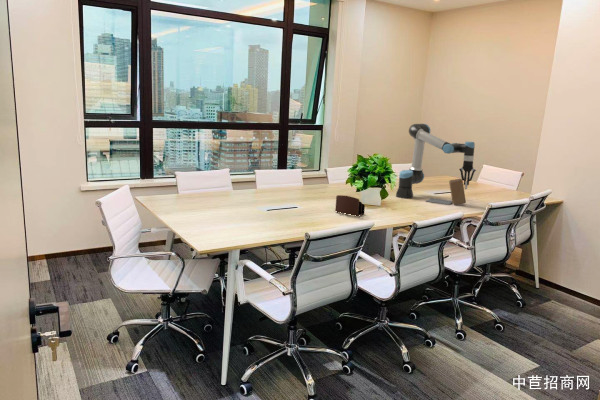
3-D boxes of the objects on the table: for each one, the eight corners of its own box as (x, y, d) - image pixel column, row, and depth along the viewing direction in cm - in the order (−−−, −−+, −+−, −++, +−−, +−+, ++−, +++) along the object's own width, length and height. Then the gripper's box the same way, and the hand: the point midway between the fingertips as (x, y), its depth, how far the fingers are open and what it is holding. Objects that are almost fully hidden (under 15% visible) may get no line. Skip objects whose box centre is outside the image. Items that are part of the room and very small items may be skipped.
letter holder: (357, 217, 337) (358, 198, 334) (334, 212, 349) (335, 194, 346) (364, 214, 345) (365, 196, 342) (341, 210, 357) (342, 192, 354)
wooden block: (466, 203, 382) (462, 180, 379) (453, 205, 385) (450, 182, 382) (464, 201, 392) (461, 178, 389) (452, 203, 394) (448, 180, 391)
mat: (425, 201, 395) (425, 200, 395) (431, 198, 409) (431, 197, 408) (449, 205, 385) (449, 204, 385) (454, 202, 398) (454, 201, 398)
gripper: (459, 160, 379) (456, 188, 383) (475, 161, 372) (473, 190, 377) (461, 159, 385) (459, 187, 390) (477, 160, 378) (475, 189, 383)
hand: (465, 188), depth 383 cm, fingers closed
